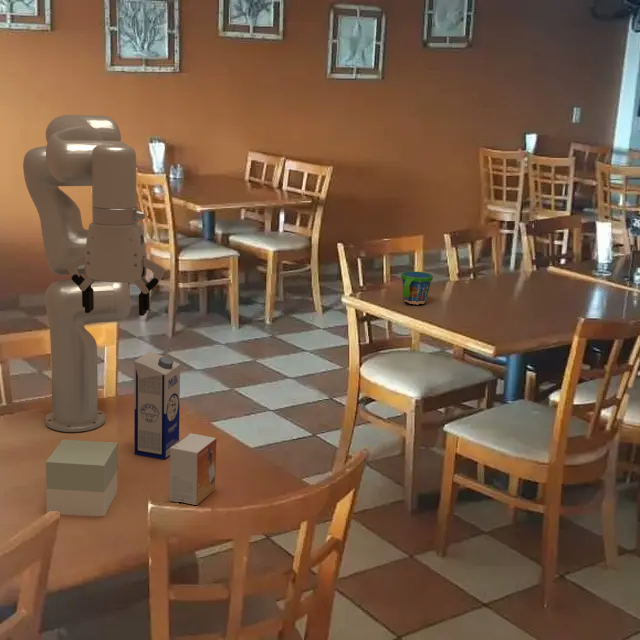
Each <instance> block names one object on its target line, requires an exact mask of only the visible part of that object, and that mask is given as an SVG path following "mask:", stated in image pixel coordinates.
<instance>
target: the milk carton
mask: <svg viewBox="0 0 640 640" xmlns="http://www.w3.org/2000/svg"><path fill="white" fill-rule="evenodd" d="M133 362H134V366H133V367H134V374H133V375H134V379H133V380H134V381H133V382H134V384H133V385H134V386H133V387H134V413H133V414H134V418H133V419H134V423H133V424H134V431H133V432H134V436H133V437H134V439H133V440H134V445H133V447H134V449H133V450H134V451H133V453H134V455H135V456H141V457H144V458H145V457H146V458H151V459H157V460H163V461H165V460H166V459H168V458H170V448H171V447H172V446H174V445H176V444H177V443H178V442H180V401H181V400H180V397H181V396H180V395H181V394H180V393H181V392H180V391H181V363H178V362H177V361H174V360H172V358H171V359H170V358H168V357H165V356H163V355H161V354H159V353H156V352H152V351H149V352H146V353H145V354H143V355H142V356H140V357H138V358H137V359H135V360H134V361H133Z"/></svg>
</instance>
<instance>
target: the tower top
mask: <svg viewBox="0 0 640 640" xmlns="http://www.w3.org/2000/svg"><path fill="white" fill-rule="evenodd" d="M118 469H119V442H114V441H113V442H112V441H110V442H109V441H97V440H96V441H95V440H94V441H93V440H79V439H78V440H77V439H62V440H61V441H60V443H59V444H58V446H57V447H56V448H55V449H54V450H53V452H52V453H51V455H50V456H49V457H48V458H47V460H46V461H45V479H46V480H45V481H46V482H45V483H46V484H45V486H46V489H58V490H74V491H90V492H105V490H106V488H107V487H108V485H109V483H110V481H111V480H112V478H113V476H114V474H115V473H116V471H117V472H118Z"/></svg>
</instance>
